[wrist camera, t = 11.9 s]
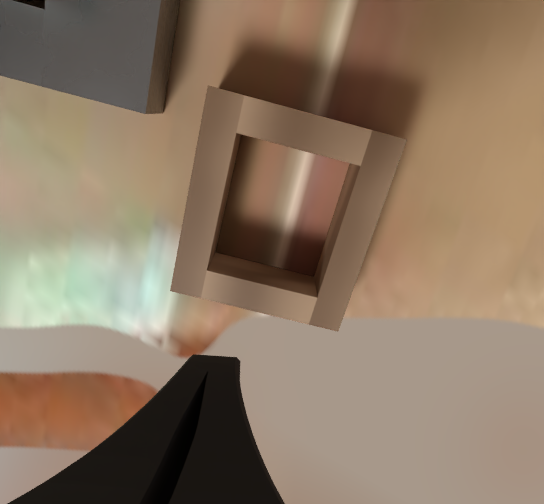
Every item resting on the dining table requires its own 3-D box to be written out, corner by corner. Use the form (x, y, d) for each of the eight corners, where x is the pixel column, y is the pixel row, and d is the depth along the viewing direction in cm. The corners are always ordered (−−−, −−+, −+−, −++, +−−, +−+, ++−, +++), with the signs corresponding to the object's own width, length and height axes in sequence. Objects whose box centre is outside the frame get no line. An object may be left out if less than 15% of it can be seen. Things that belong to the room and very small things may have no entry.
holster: (391, 135, 19) (407, 139, 16) (332, 307, 22) (338, 331, 20) (218, 88, 18) (208, 85, 16) (182, 270, 21) (170, 290, 19)
